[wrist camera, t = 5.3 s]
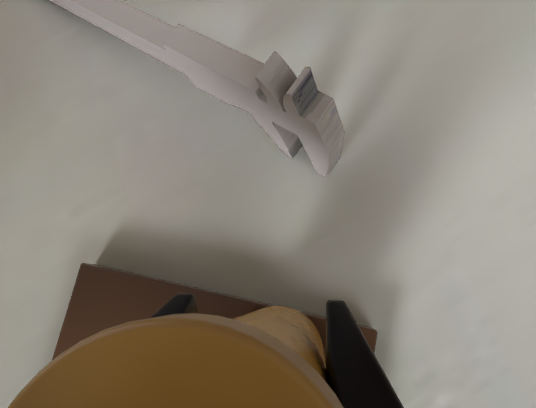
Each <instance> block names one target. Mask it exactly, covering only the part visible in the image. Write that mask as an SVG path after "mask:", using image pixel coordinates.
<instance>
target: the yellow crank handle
mask: <svg viewBox="0 0 536 408" xmlns="http://www.w3.org/2000/svg"><path fill="white" fill-rule="evenodd" d="M325 367H326V364H325V357H324V350H323V344H322V340H321V337H320V334H319V332H318V330H317V329H316V327H315V325H314V324H313V323H312V322H311V320H310V319H308V318H307V317H306V316H305V315H304V314H302V313H301V312H299V311H297V310H295V309H293V308H290V307H286V306H270V307H266V308H263V309H260V310H257V311H254V312H251V313H248V314H245V315H242V316H240V317H237V318H234V319H230V318H226V317H222V316H217V315H208V314H198V313H190V314H172V315H166V316H160V317H154V318H148V319H142V320H137V321H131V322H127V323H124V324H120V325H117V326H114V327H111V328H108V329H105V330H103V331H100V332H98V333H96V334H94V335H92V336H90V337H88V338H86V339H84V340H81V341H80V342H78V343H77V344H75V345H74V346H72V347H71V348H69V349H68V350H66V351H64V352H63V353H61V354H60V355H59V356H57V357H56V358H55V359H54V360H53V361H51V362H50V363H49V364H48V365H47V366H45V367H44V368H43V369H42V370H41V371H39V372H38V374H37V375H36V376H35V377H34V378H33V379H32V380H31V381H30V382H29V383H28V384H27V385H26V386H25V387H24V388H23V389H22V391H21V392H20V393H19V394H18V395H17V396H16V398H15V399H14V400H13V402H12V403H11V405H10V406H9V407H8V408H344V407H343V406H342V404H341V403H340V401H339V399H338V398H337V396H336V394H335V393H334V392H333V391H332V389H331V388H330V387H329V385H328V382H327V377H326V370H325Z"/></svg>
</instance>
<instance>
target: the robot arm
mask: <svg viewBox="0 0 536 408" xmlns="http://www.w3.org/2000/svg"><path fill="white" fill-rule="evenodd" d="M190 313H198V314H199V311H198V307H197V302H196V298H195V296H194V294H192V293H177V294H176V295H174V296H173V297H172V298H171V299H170V300H169V301H168V302H167V303H166V304H165V305H163V306H162V307H161V308H160V309H159V310H158V311H157V312H156V313H155V314H154V315H153V316H152V317H150V318H154V317H160V316H166V315H172V314H190ZM325 370H326V377H327V382H328V385H329V387H330V388H331V389H332V391H333V392H334V393H335V394H336V396H337V398H338V399H339V401H340V403H341V404H342V406H343V407H344V408H404V407H403V405H402V404H401V402H400V400H399V398H398V396H397V395H396V393H395V391H394V389H393V387H392V386H391V384H390V382H389V380H388V378H387V377H386V375H385V373H384V371H383V369H382V368H381V366H380V364H379V362H378V360H377V359H376V357H375V355H374V353H373V351H372V350H371V348H370V346H369V344H368V342H367V341H366V339H365V337H364V335H363V333H362V331H361V330H360V328H359V326H358V324H357V322H356V321H355V319H354V317H353V315H352V313H351V312H350V310H349V308H348V306H347V304H346V303H345V302H344V301H340V300H328V301H327V303H326V367H325Z"/></svg>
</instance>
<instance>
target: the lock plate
mask: <svg viewBox="0 0 536 408" xmlns="http://www.w3.org/2000/svg"><path fill="white" fill-rule="evenodd" d="M177 293H192V294H194V296H195V298H196V302H197V307H198V311H199V314H208V315H217V316H222V317H226V318H230V319H234V318H237V317H240V316H242V315H245V314H248V313H251V312H254V311H257V310H260V309H263V308H266V307H270V306H274V305H269V304H265V303H261V302H256V301H252V300H248V299H243V298H239V297H234V296H230V295H226V294H221V293H217V292H213V291H208V290H204V289H199V288H195V287H191V286H186V285H182V284H178V283H173V282H169V281H165V280H160V279H156V278H151V277H147V276H143V275H138V274H134V273H130V272H125V271H121V270H117V269H112V268H108V267H103V266H99V265H95V264H86V263H82V264H81V266H80V269H79V273H78V276H77V279H76V283H75V286H74V289H73V293H72V296H71V299H70V303H69V306H68V309H67V313H66V316H65V319H64V322H63V326H62V329H61V332H60V336H59V339H58V342H57V346H56V349H55V352H54V356H53V359H52V361H53V360H54V359H55V358H56V357H57V356H59V355H60V354H61V353H63V352H64V351H66V350H68V349H69V348H71V347H72V346H74V345H75V344H77V343H78V342H80V341H81V340H84V339H86V338H88V337H90V336H92V335H94V334H96V333H98V332H100V331H103V330H105V329H108V328H111V327H114V326H117V325H120V324H124V323H127V322H131V321H137V320H142V319H148V318H150V317H152V316H153V315H154V314H155V313H156V312H157V311H158V310H159V309H160V308H161V307H162V306H163V305H165V304H166V303H167V302H168V301H169V300H170V299H171V298H172V297H173V296H174V295H176V294H177ZM299 312H300V311H299ZM301 313H302V314H304V315H305V316H306V317H307V318H308V319H310V320H311V322H312V323H313V324H314V325H315V327H316V329H317V330H318V332H319V334H320V337H321V340H322V344H323V350H324V357H325V364H326V317H322V316H317V315H313V314H309V313H304V312H301ZM358 326H359V328H360V330H361V331H362V333H363V335H364V337H365V339H366V341H367V342H368V344H369V346H370V348H371V350H372V351H373V353H374V351H375V345H376V338H377V331H376V330H374V329H373V328H370V327H365V326H361V325H358Z"/></svg>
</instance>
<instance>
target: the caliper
mask: <svg viewBox="0 0 536 408" xmlns="http://www.w3.org/2000/svg"><path fill="white" fill-rule="evenodd" d="M49 1H51V2H53V3H55V4H57V5H59V6H60V7H62V8H64V9H66V10H68V11H70V12H72V13H73V14H75V15H77V16H79V17H81V18H83V19H84V20H86V21H88V22H90V23H92V24H94V25H96V26H97V27H99V28H101V29H103V30H105V31H107V32H108V33H110V34H112V35H114V36H116V37H117V38H119V39H121V40H123V41H125V42H127V43H128V44H130V45H132V46H134V47H136V48H138V49H139V50H141V51H143V52H145V53H147V54H149V55H150V56H152V57H154V58H156V59H158V60H159V61H161V62H163V63H165V64H167V65H169V66H170V67H172V68H174V69H176V70H178V71H180V72H181V73H183V74H185V75H186V76H187V78H188V79H189V80H190V81H191V83H192V84H193V85H194V86H195V87H197V88H198V89H200V90H202V91H205V92H207V93H209V94H211V95H213V96H214V97H216V98H217V99H219V100H220V101H222V102H225V103H227V104H230V105H233V106H235V107H236V106H238V107H240V108H242V109H243V110H245V111H247V112H249V113H250V114H251V115H252V117H253V118H254V119H255V120H256V121H257V122H258V124H259V125H260V126H261V127H262V128H263V129H264V131H265V132H266V133H267V134H268V135H269V136H270V138H271V139H272V140H273V141H274V142H275V143H276V145H277V146H278V147H279V148H280V149H281V150H282V151H283V152H284V153H285V154H286V155H287V156H288V157H290V158H291V159H292V158H293V157H294V156H295V154H296V153H297V152H298V150H299V149H300V147H301V146H302V145H303V147H304V149H305V151H306V153H307V154H308V156H309V158H310V160H311V162H312V164H313V166H314V168H315V170H316V172H317V173H318V174H320V175H322V176H325V177H327V175H328V174H329V173H330V171H331V170H332V168H333V167H334V165H335V164H336V163H337V161H338V160H339V158H340V156H341V152H342V146H343V139H344V133H345V132H344V129H343V126H342V123H341V120H340V117H339V114H338V111H337V108H336V105H335V102H334V99H333V98H331V97H329V96H327V95H325V94H323V93H321V92H319V91H318V90H317V87H316V84H315V81H314V78H313V75H312V72H311V69H310V67H305V68H304V70H303V71H302V72H301V74H300V75H299V76H298V78H296V76H295V74H294V73H293V71H292V70H291V69H290V67H289V66H288V65H287V64H286V62H285V61H284V60H283V59H282V58H281V56H280V55H279V54H278V53H277V52H276V51H275V52H274V53H273V54H272V55H271V57H270V58H269V59H268V61H267V62H266V63H265V64H264V63H262V62H259V61H257V60H255V59H253V58H251V57H249V56H247V55H244V54H242V53H240V52H238V51H236V50H234V49H231V48H229V47H227V46H225V45H223V44H221V43H219V42H216V41H214V40H212V39H210V38H208V37H206V36H204V35H201V34H199V33H197V32H195V31H193V30H191V29H189V28H186V27H184V26H182V25H180V24H178V25H177V27H176V28H175V27H173V26H171V25H169V24H167V23H165V22H163V21H160V20H158V19H156V18H154V17H152V16H150V15H148V14H146V13H144V12H142V11H140V10H138V9H136V8H134V7H132V6H130V5H128V4H126V3H123V2H121V1H119V0H49Z"/></svg>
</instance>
